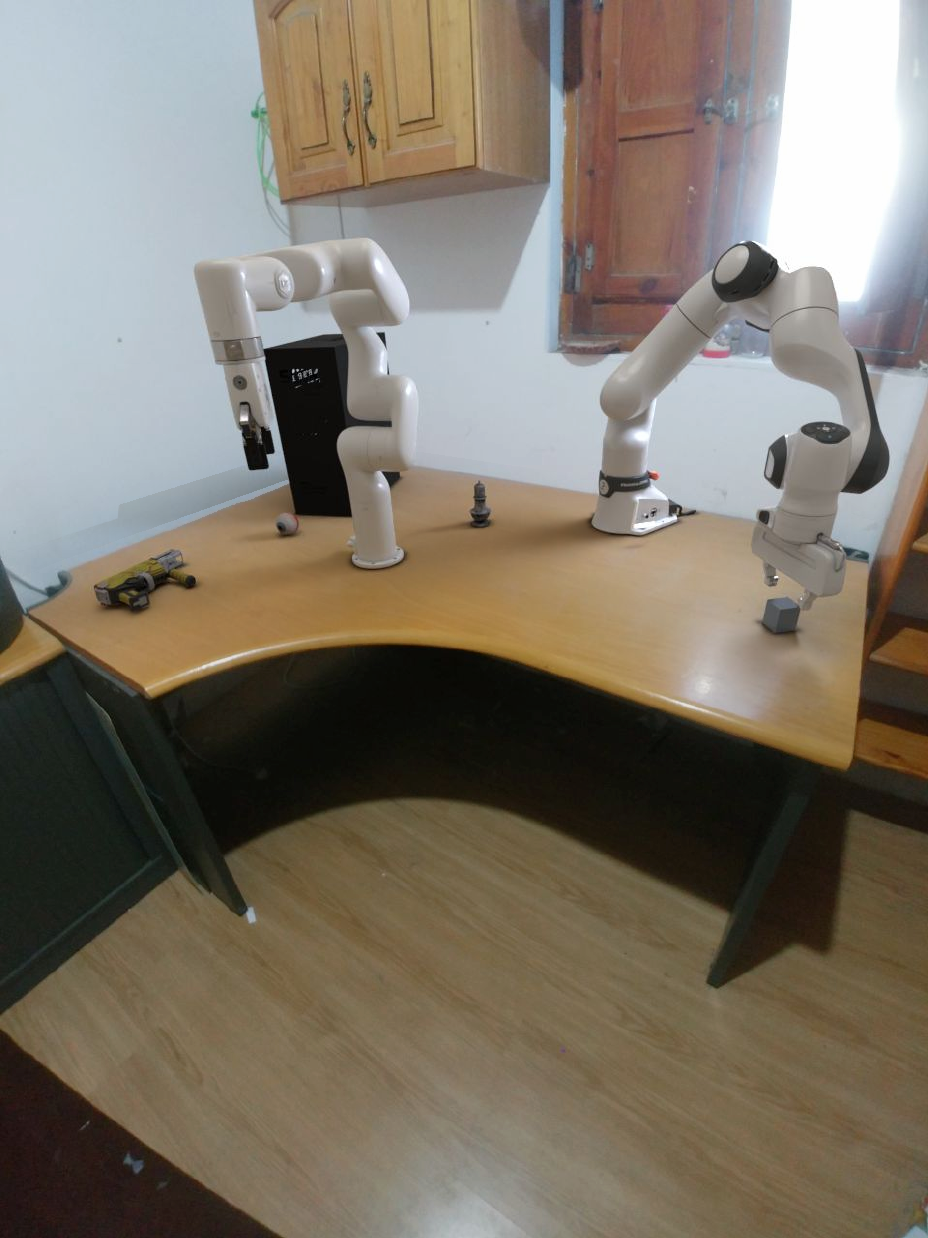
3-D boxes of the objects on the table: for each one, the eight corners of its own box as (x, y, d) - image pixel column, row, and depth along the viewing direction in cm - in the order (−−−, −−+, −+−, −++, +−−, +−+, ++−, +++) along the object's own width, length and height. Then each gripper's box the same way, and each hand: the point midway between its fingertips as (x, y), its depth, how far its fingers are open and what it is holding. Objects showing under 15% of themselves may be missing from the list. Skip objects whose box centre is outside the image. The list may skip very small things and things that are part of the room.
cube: (774, 633, 110) (780, 609, 107) (761, 622, 113) (767, 599, 111) (795, 630, 110) (801, 606, 108) (781, 619, 114) (787, 596, 111)
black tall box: (359, 516, 174) (334, 346, 152) (295, 513, 179) (262, 349, 156) (400, 477, 206) (384, 331, 183) (345, 476, 210) (323, 334, 188)
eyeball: (273, 537, 164) (268, 516, 161) (287, 528, 169) (282, 508, 166) (291, 539, 161) (286, 518, 158) (305, 530, 166) (301, 510, 163)
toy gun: (219, 557, 146) (169, 546, 150) (142, 598, 126) (87, 585, 129) (222, 574, 148) (172, 563, 152) (147, 618, 128) (92, 604, 132)
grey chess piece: (489, 527, 162) (488, 483, 156) (468, 526, 163) (466, 483, 157) (493, 519, 167) (491, 476, 161) (472, 518, 168) (470, 476, 162)
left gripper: (256, 355, 86) (280, 473, 95) (269, 344, 101) (289, 447, 110) (202, 359, 85) (231, 478, 94) (223, 347, 100) (247, 450, 109)
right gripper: (865, 544, 93) (842, 621, 100) (782, 503, 111) (768, 571, 118) (829, 549, 93) (808, 627, 99) (751, 506, 110) (738, 575, 117)
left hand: (262, 461), depth 102 cm, fingers open, 9 cm apart
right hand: (785, 596), depth 109 cm, fingers open, 8 cm apart
